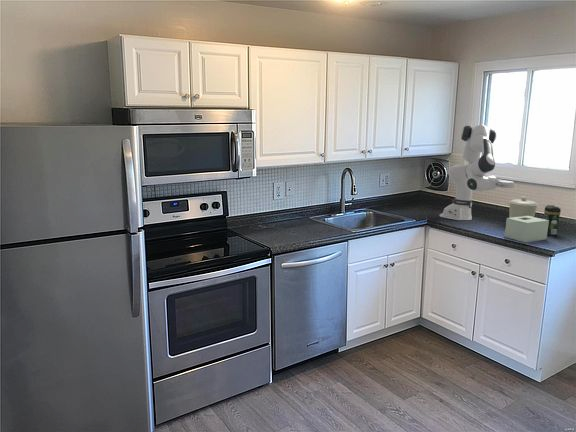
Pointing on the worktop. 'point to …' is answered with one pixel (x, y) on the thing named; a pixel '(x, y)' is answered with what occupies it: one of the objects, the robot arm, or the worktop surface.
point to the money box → (526, 228)
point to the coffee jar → (552, 218)
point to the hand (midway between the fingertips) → (505, 181)
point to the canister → (522, 207)
